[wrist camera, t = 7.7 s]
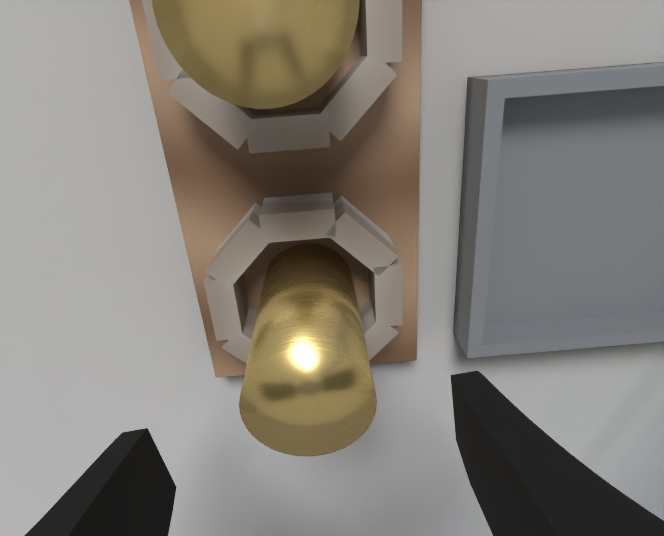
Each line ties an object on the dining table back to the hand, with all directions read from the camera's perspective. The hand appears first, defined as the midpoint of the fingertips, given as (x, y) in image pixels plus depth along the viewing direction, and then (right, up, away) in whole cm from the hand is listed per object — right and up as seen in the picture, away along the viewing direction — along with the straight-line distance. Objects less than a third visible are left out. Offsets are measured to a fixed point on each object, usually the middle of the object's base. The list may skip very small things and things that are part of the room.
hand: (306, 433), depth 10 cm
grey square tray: (+11, +6, +8) cm, 15 cm away
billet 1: (-1, +12, +4) cm, 12 cm away
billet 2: (0, +3, +8) cm, 8 cm away
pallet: (-1, +8, +7) cm, 10 cm away
